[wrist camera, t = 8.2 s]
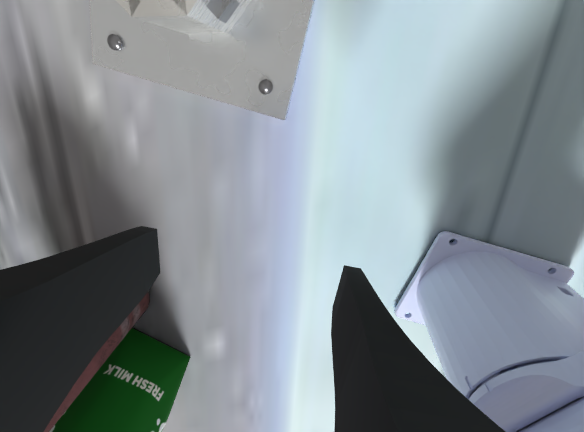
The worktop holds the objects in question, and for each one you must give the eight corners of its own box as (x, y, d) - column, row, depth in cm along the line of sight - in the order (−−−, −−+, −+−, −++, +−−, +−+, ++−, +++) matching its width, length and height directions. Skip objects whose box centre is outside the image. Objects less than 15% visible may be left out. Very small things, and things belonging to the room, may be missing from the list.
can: (72, 263, 25) (-186, 447, 13) (134, 254, 24) (-83, 449, 11) (105, 315, 27) (-83, 513, 15) (163, 309, 26) (11, 521, 14)
